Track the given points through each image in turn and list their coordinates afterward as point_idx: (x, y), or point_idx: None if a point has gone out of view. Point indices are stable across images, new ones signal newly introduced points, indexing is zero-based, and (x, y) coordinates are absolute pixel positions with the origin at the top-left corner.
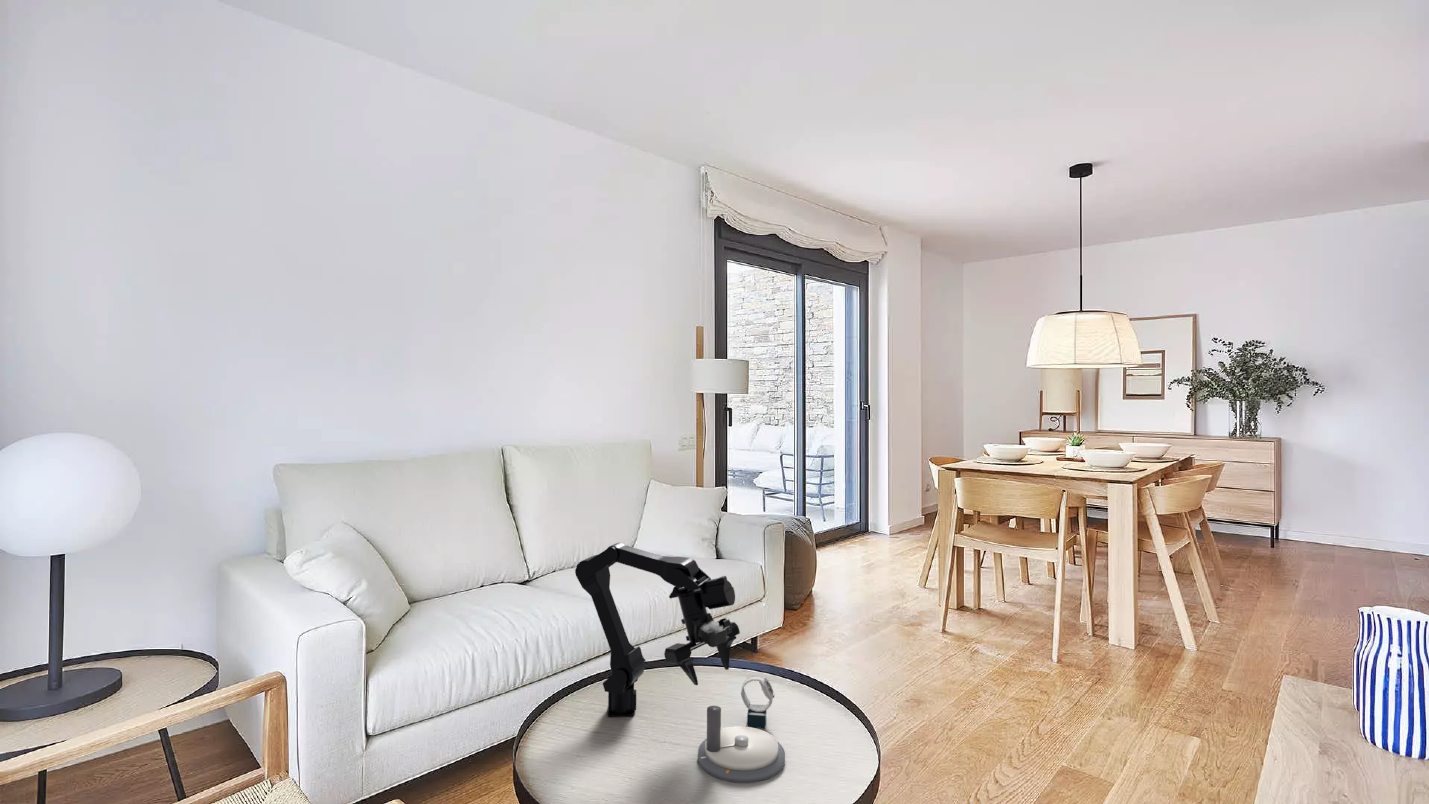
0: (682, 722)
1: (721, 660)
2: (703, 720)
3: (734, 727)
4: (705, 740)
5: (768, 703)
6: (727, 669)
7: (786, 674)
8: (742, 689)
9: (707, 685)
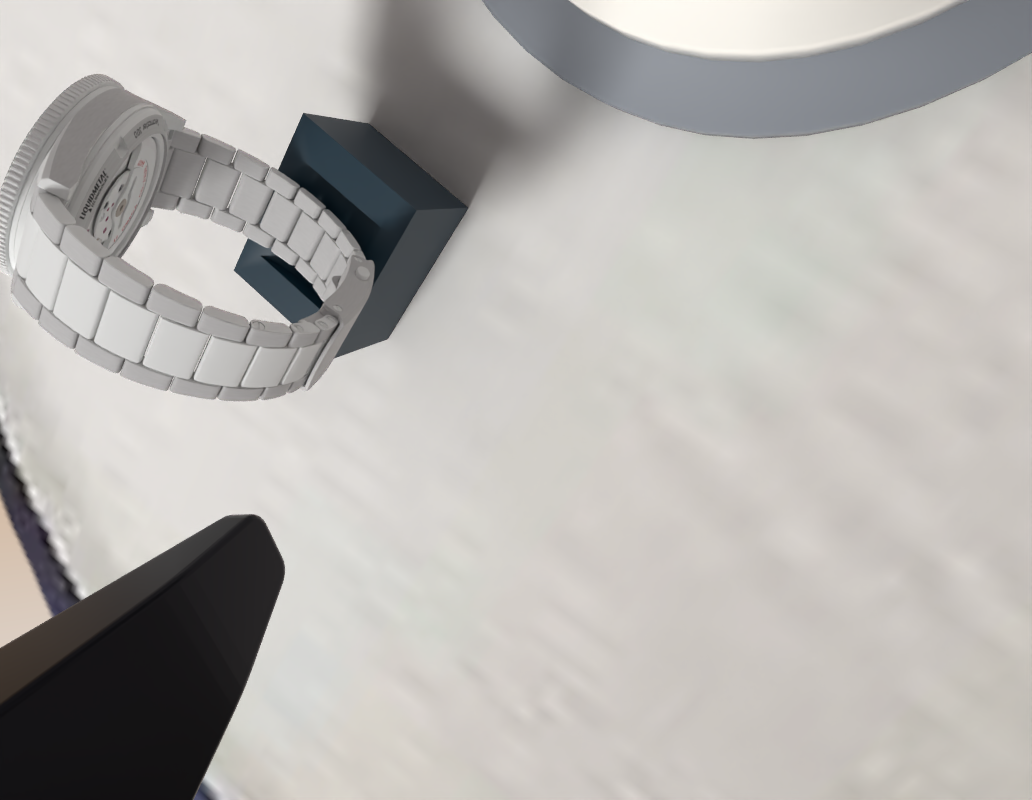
0: (866, 555)
1: (210, 751)
2: (693, 480)
3: (651, 12)
4: (1015, 45)
5: (207, 202)
6: (255, 515)
7: (54, 593)
8: (295, 327)
9: (421, 789)
